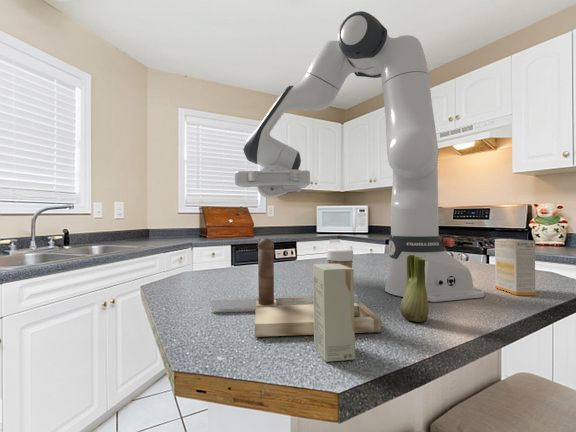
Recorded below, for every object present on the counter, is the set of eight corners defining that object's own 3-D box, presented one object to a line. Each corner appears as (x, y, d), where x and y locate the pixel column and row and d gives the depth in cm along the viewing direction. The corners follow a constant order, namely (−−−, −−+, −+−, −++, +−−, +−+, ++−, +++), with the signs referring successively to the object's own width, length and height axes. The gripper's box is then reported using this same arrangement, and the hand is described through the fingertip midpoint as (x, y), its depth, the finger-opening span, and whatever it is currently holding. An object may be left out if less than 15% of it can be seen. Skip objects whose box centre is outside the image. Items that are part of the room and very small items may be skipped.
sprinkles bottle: (329, 329, 54) (329, 250, 54) (325, 320, 58) (325, 247, 58) (356, 328, 54) (356, 250, 54) (350, 320, 59) (349, 247, 59)
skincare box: (356, 361, 42) (355, 269, 42) (324, 363, 41) (324, 270, 41) (340, 342, 48) (340, 262, 48) (312, 344, 48) (312, 262, 48)
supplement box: (536, 295, 75) (536, 240, 75) (516, 295, 75) (515, 240, 75) (512, 288, 83) (512, 238, 83) (494, 288, 84) (494, 238, 84)
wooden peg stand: (355, 307, 66) (355, 236, 66) (381, 331, 52) (380, 241, 52) (256, 310, 64) (255, 237, 64) (254, 336, 50) (254, 243, 50)
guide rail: (355, 305, 68) (355, 294, 68) (358, 307, 66) (358, 295, 66) (213, 310, 65) (213, 298, 65) (212, 312, 64) (212, 300, 64)
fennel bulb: (429, 326, 55) (428, 257, 55) (399, 323, 57) (398, 256, 57) (428, 317, 60) (428, 253, 60) (401, 314, 62) (400, 252, 62)
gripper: (235, 170, 92) (231, 162, 78) (305, 170, 94) (313, 162, 80) (236, 192, 92) (232, 188, 78) (305, 191, 94) (314, 186, 80)
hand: (274, 174), depth 79 cm, fingers open, 8 cm apart
